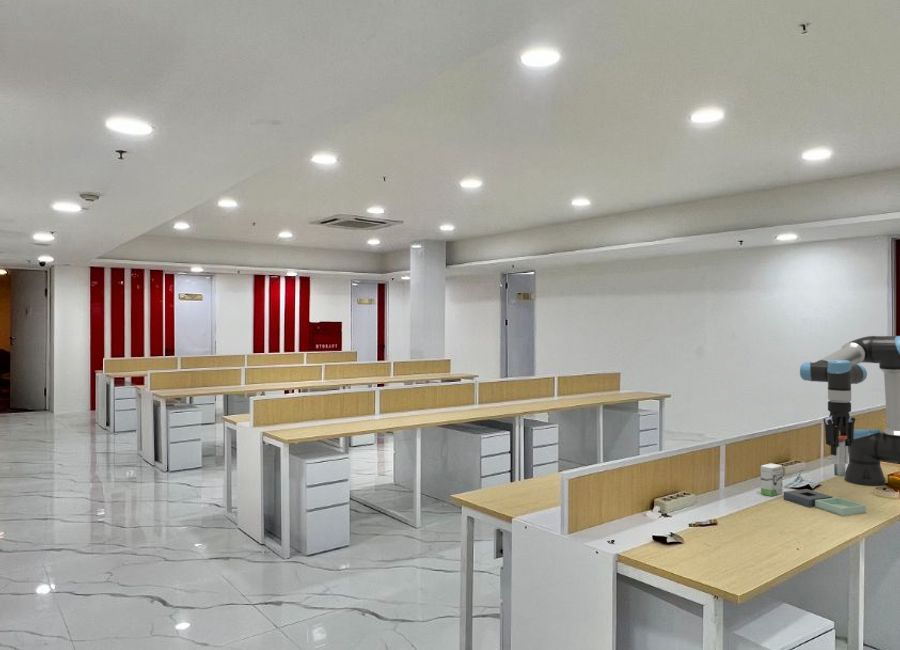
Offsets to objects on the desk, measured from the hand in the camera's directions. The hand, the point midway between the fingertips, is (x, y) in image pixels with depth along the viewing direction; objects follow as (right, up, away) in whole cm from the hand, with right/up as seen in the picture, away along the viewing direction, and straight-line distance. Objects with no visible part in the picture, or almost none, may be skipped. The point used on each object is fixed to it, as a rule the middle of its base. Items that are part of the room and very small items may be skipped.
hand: (839, 463), depth 237 cm
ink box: (-14, -18, +23) cm, 33 cm away
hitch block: (-6, -18, +11) cm, 22 cm away
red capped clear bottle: (0, -5, 0) cm, 5 cm away
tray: (0, -18, 0) cm, 18 cm away
